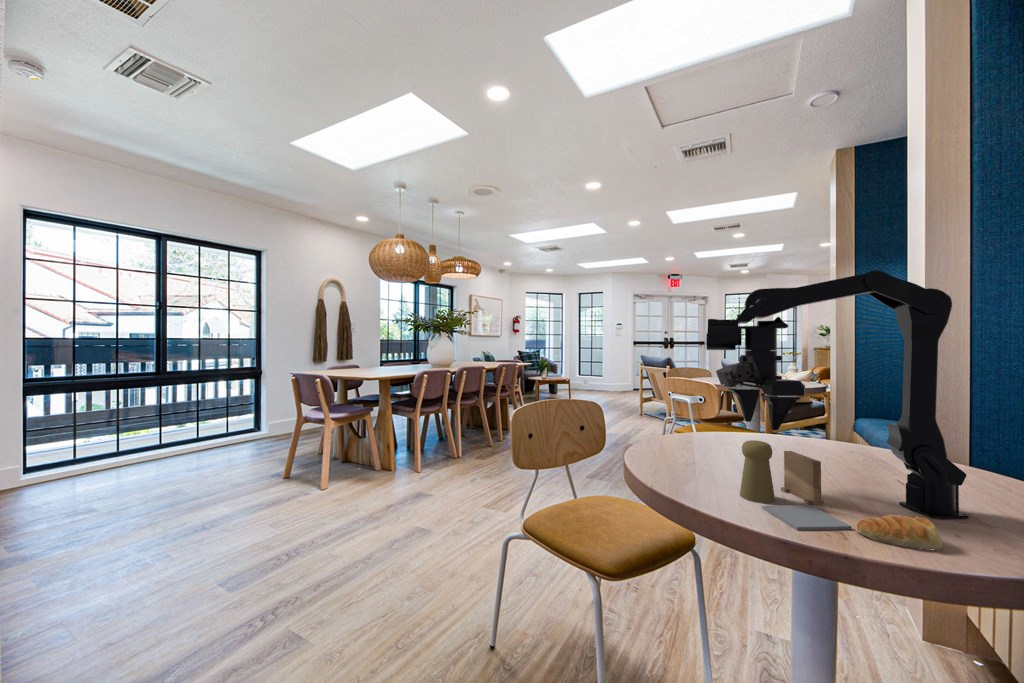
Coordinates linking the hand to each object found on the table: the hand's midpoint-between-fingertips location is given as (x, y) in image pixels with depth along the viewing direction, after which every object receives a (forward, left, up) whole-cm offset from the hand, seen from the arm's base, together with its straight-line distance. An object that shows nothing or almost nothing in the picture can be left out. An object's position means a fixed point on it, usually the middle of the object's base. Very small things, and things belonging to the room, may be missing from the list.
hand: (760, 425), depth 87 cm
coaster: (+2, +15, -13) cm, 20 cm away
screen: (-5, +5, -13) cm, 15 cm away
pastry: (-7, +23, -14) cm, 28 cm away
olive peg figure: (+4, +5, -13) cm, 15 cm away
